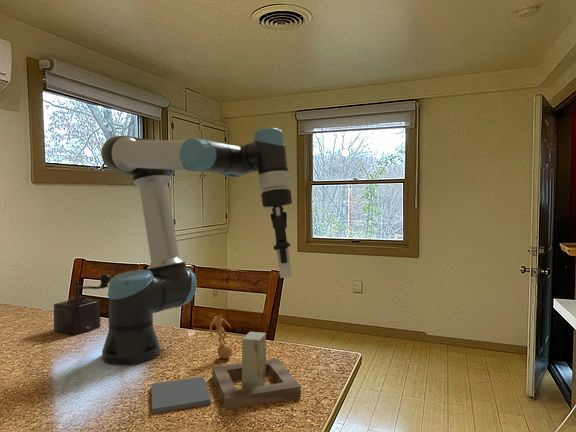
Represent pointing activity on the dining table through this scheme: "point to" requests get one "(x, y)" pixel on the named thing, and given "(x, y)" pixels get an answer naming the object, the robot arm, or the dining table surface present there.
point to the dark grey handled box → (79, 311)
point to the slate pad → (179, 394)
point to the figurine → (224, 349)
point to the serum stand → (254, 395)
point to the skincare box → (253, 360)
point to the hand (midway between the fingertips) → (286, 274)
